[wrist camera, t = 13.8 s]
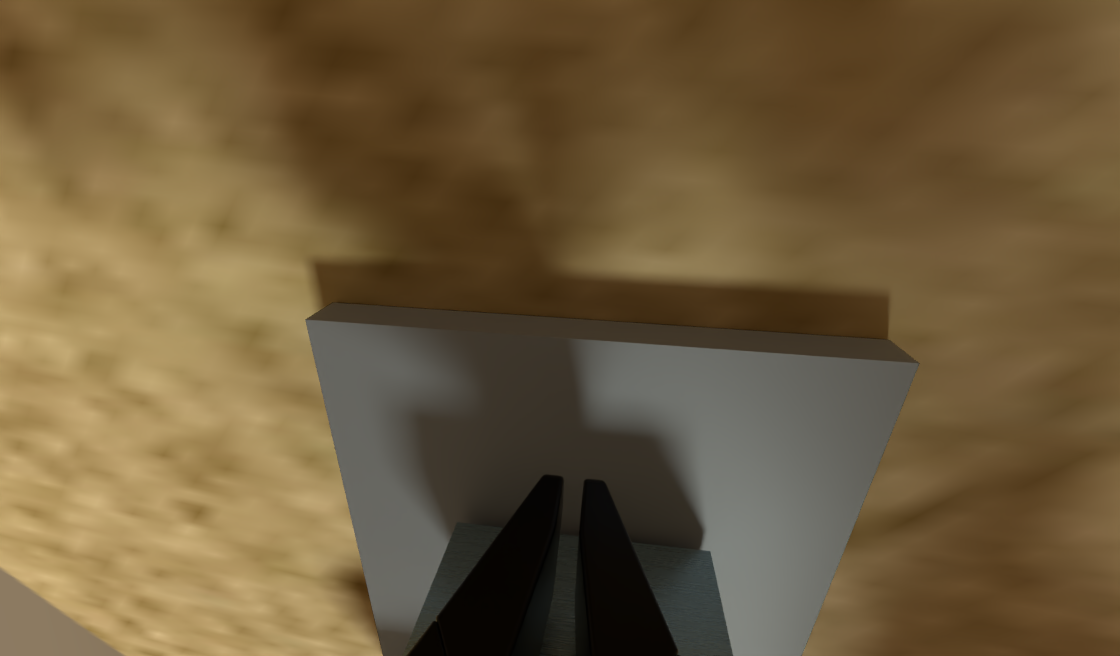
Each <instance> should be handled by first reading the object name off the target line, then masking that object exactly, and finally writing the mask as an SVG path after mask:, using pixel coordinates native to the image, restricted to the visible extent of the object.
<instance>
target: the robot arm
mask: <svg viewBox="0 0 1120 656" xmlns="http://www.w3.org/2000/svg"><path fill="white" fill-rule="evenodd" d="M563 493H564V478H563V477H562V476H559V475H550V474H545V475H543V476H542V477H541V478H540V479H539V481H538V482H537V483H536V485H535V486H534V487H533V489H532V490H531V491H530V493H529V494H528V495H527V497H526V498H525V499H524V501H523V502H522V503H521V505H520V506H519V507H518V509H517V510H516V511H515V513H514V514H513V515H512V517H511V518H510V519H509V521H508V522H507V523H506V524H505V526H504V527H503V528H502V530H501V531H500V532H499V534H498V535H497V536H496V538H495V539H494V540H493V542H492V543H491V544H490V546H489V547H488V548H487V550H486V551H485V552H484V554H483V555H482V556H481V558H480V559H479V560H478V562H477V563H476V564H475V566H474V567H473V568H472V570H471V571H470V572H469V574H468V575H467V576H466V578H465V579H464V580H463V582H462V583H461V584H460V586H459V587H458V588H457V590H456V591H455V592H454V594H453V595H452V596H451V598H450V599H449V600H448V602H447V603H446V604H445V606H444V607H443V608H442V610H441V611H440V612H439V614H438V615H437V616H436V621H432V623H431V624H430V625H429V627H428V628H427V629H426V631H425V632H424V633H423V635H422V636H421V637H420V639H419V640H418V641H417V642H416V644H415V645H414V646H413V648H412V649H411V650H410V651H409V653H408V654H407V655H406V656H540V651H541V647H542V642H543V638H544V634H545V629H546V625H547V620H548V616H549V612H550V607H551V602H552V597H553V591H554V584H555V575H556V566H557V557H558V548H559V539H560V530H561V521H562V511H563ZM575 643H576V656H681V655H678V652H679V650H678V648H677V645H676V643H675V641H674V639H673V636H672V634H671V632H670V629H669V627H668V625H667V622H666V620H665V618H664V616H663V613H662V611H661V609H660V606H659V604H658V602H657V599H656V597H655V595H654V593H653V590H652V588H651V586H650V583H649V581H648V579H647V576H646V574H645V572H644V570H643V567H642V565H641V563H640V560H639V558H638V556H637V553H636V551H635V549H634V547H633V544H632V542H631V540H630V537H629V535H628V533H627V530H626V528H625V526H624V524H623V521H622V519H621V517H620V514H619V512H618V510H617V507H616V505H615V503H614V501H613V498H612V496H611V494H610V491H609V489H608V487H607V484H606V483H605V482H604V481H603V480H597V479H585V480H584V482H583V493H582V504H581V515H580V527H579V541H578V554H577V568H576V582H575Z"/></svg>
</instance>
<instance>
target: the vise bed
mask: <svg viewBox="0 0 1120 656" xmlns="http://www.w3.org/2000/svg"><path fill="white" fill-rule="evenodd" d="M305 320H306V325H307V329H308V333H309V338H310V342H311V346H312V351H313V355H314V359H315V364H316V368H317V372H318V377H319V381H320V385H321V390H322V394H323V398H324V402H325V407H326V411H327V415H328V420H329V424H330V428H331V433H332V437H333V441H334V446H335V450H336V454H337V459H338V463H339V467H340V472H341V476H342V480H343V485H344V489H345V493H346V498H347V502H348V506H349V511H350V515H351V519H352V524H353V528H354V532H355V537H356V541H357V545H358V549H359V554H360V558H361V562H362V567H363V571H364V575H365V580H366V584H367V588H368V593H369V597H370V601H371V606H372V610H373V614H374V619H375V623H376V627H377V632H378V636H379V640H380V645H381V649H382V653H383V656H403V654H404V651H405V649H406V646H407V644H408V641H409V639H410V636H411V634H412V632H413V629H414V627H415V624H416V622H417V619H418V617H419V614H420V612H421V609H422V607H423V605H424V602H425V600H426V597H427V595H428V592H429V590H430V587H431V585H432V582H433V580H434V578H435V575H436V573H437V570H438V568H439V565H440V563H441V560H442V558H443V555H444V553H445V551H446V548H447V546H448V543H449V541H450V538H451V536H452V533H453V531H454V528H455V526H456V524H457V522H460V523H469V524H478V525H486V526H495V527H504V526H505V524H506V523H507V522H508V521H509V519H510V518H511V517H512V515H513V514H514V513H515V511H516V510H517V509H518V507H519V506H520V505H521V503H522V502H523V501H524V499H525V498H526V497H527V495H528V494H529V493H530V491H531V490H532V489H533V487H534V486H535V485H536V483H537V482H538V481H539V479H540V478H541V477H542V476H543V475H545V474H550V475H559V476H562V477H563V478H564V493H563V511H562V521H561V530H560V534H565V535H574V536H579V527H580V515H581V504H582V493H583V482H584V480H585V479H597V480H603V481H604V482H605V483H606V484H607V487H608V489H609V491H610V494H611V496H612V498H613V501H614V503H615V505H616V507H617V510H618V512H619V514H620V517H621V519H622V521H623V524H624V526H625V528H626V530H627V533H628V535H629V537H630V540H631V542H635V543H643V544H652V545H661V546H670V547H678V548H687V549H696V550H704V551H710V552H711V556H712V561H713V565H714V570H715V575H716V579H717V584H718V588H719V593H720V598H721V602H722V607H723V611H724V616H725V620H726V625H727V630H728V634H729V639H730V643H731V648H732V653H733V656H802V654H803V651H804V649H805V646H806V644H807V641H808V639H809V636H810V634H811V632H812V629H813V627H814V624H815V622H816V619H817V617H818V614H819V612H820V609H821V607H822V604H823V602H824V599H825V597H826V594H827V592H828V589H829V587H830V584H831V582H832V579H833V577H834V574H835V572H836V569H837V567H838V565H839V562H840V560H841V557H842V555H843V552H844V550H845V547H846V545H847V542H848V540H849V537H850V535H851V532H852V530H853V527H854V525H855V522H856V520H857V517H858V515H859V512H860V510H861V507H862V505H863V502H864V500H865V497H866V495H867V493H868V490H869V488H870V485H871V483H872V480H873V478H874V475H875V473H876V470H877V468H878V465H879V463H880V460H881V458H882V455H883V453H884V450H885V448H886V445H887V443H888V440H889V438H890V435H891V433H892V430H893V428H894V425H895V423H896V421H897V418H898V416H899V413H900V411H901V408H902V406H903V403H904V401H905V398H906V396H907V393H908V391H909V388H910V386H911V383H912V381H913V378H914V376H915V373H916V371H917V368H918V366H919V363H918V362H917V361H916V360H914V359H913V358H912V357H911V356H909V355H908V354H907V353H906V352H904V351H903V350H902V349H900V348H899V347H898V346H897V345H895V344H894V343H893V342H892V341H890V340H884V339H869V338H854V337H839V336H824V335H809V334H794V333H779V332H764V331H750V330H735V329H720V328H705V327H690V326H675V325H660V324H645V323H630V322H615V321H600V320H585V319H570V318H555V317H540V316H526V315H511V314H496V313H481V312H466V311H451V310H436V309H421V308H406V307H391V306H376V305H361V304H346V303H331V304H330V305H328V306H327V307H325V308H323V309H322V310H320V311H318V312H317V313H315V314H314V315H312V316H310V317H309V318H307V319H305Z"/></svg>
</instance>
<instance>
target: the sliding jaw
mask: <svg viewBox="0 0 1120 656" xmlns="http://www.w3.org/2000/svg"><path fill="white" fill-rule="evenodd" d="M502 528H503V527H495V526H486V525H478V524H469V523H460V522H457V524H456V526H455V528H454V531H453V533H452V536H451V538H450V541H449V543H448V546H447V548H446V551H445V553H444V555H443V558H442V560H441V563H440V565H439V568H438V570H437V573H436V575H435V578H434V580H433V582H432V585H431V587H430V590H429V592H428V595H427V597H426V600H425V602H424V605H423V607H422V609H421V612H420V614H419V617H418V619H417V622H416V624H415V627H414V629H413V632H412V634H411V636H410V639H409V641H408V644H407V646H406V649H405V651H404V654H403V656H406V655H407V654H408V653H409V651H410V650H411V649H412V648H413V646H414V645H415V644H416V642H417V641H418V640H419V639H420V637H421V636H422V635H423V633H424V632H425V631H426V629H427V628H428V627H429V625H430V624H431V623H432V621H436V616H437V615H438V614H439V612H440V611H441V610H442V608H443V607H444V606H445V604H446V603H447V602H448V600H449V599H450V598H451V596H452V595H453V594H454V592H455V591H456V590H457V588H458V587H459V586H460V584H461V583H462V582H463V580H464V579H465V578H466V576H467V575H468V574H469V572H470V571H471V570H472V568H473V567H474V566H475V564H476V563H477V562H478V560H479V559H480V558H481V556H482V555H483V554H484V552H485V551H486V550H487V548H488V547H489V546H490V544H491V543H492V542H493V540H494V539H495V538H496V536H497V535H498V534H499V532H500V531H501V530H502ZM578 541H579V536H574V535H565V534H560V539H559V548H558V557H557V566H556V575H555V584H554V591H553V597H552V602H551V607H550V612H549V616H548V620H547V625H546V629H545V634H544V638H543V642H542V647H541V651H540V656H576V643H575V582H576V568H577V554H578ZM632 544H633V547H634V549H635V551H636V553H637V556H638V558H639V560H640V563H641V565H642V567H643V570H644V572H645V574H646V576H647V579H648V581H649V583H650V586H651V588H652V590H653V593H654V595H655V597H656V599H657V602H658V604H659V606H660V609H661V611H662V613H663V616H664V618H665V620H666V622H667V625H668V627H669V629H670V632H671V634H672V636H673V639H674V641H675V643H676V645H677V648H678V650H679V652H678V655H681V656H733V653H732V648H731V643H730V639H729V634H728V630H727V625H726V620H725V616H724V611H723V607H722V602H721V598H720V593H719V588H718V584H717V579H716V575H715V570H714V565H713V561H712V556H711V552H710V551H704V550H696V549H687V548H678V547H670V546H661V545H652V544H643V543H635V542H632Z"/></svg>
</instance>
